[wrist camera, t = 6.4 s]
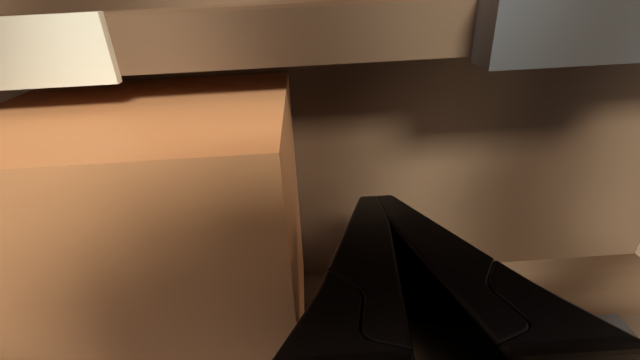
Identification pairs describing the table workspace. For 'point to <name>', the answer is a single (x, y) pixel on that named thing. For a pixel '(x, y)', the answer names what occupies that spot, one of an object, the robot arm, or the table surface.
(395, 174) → the chute
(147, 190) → the block
